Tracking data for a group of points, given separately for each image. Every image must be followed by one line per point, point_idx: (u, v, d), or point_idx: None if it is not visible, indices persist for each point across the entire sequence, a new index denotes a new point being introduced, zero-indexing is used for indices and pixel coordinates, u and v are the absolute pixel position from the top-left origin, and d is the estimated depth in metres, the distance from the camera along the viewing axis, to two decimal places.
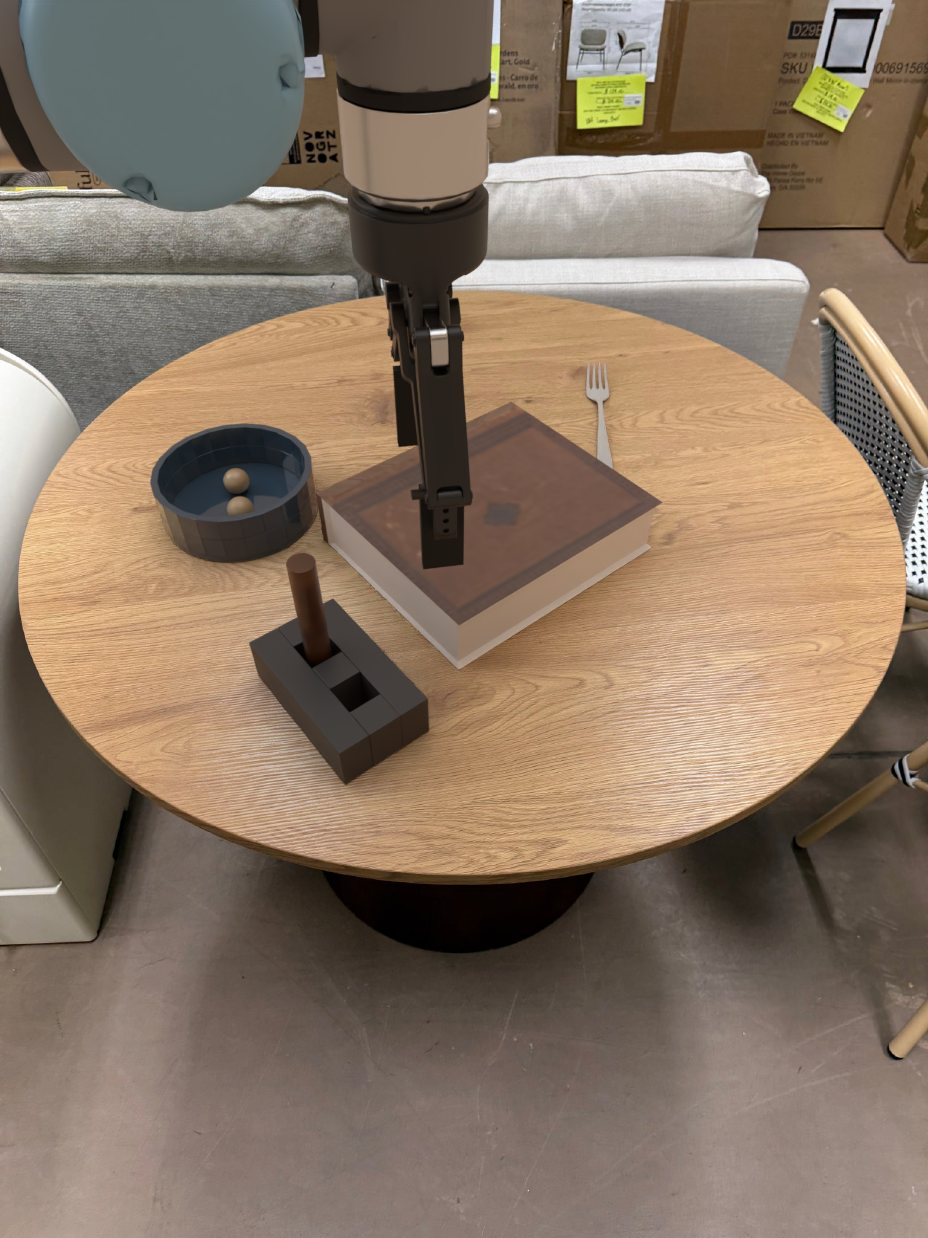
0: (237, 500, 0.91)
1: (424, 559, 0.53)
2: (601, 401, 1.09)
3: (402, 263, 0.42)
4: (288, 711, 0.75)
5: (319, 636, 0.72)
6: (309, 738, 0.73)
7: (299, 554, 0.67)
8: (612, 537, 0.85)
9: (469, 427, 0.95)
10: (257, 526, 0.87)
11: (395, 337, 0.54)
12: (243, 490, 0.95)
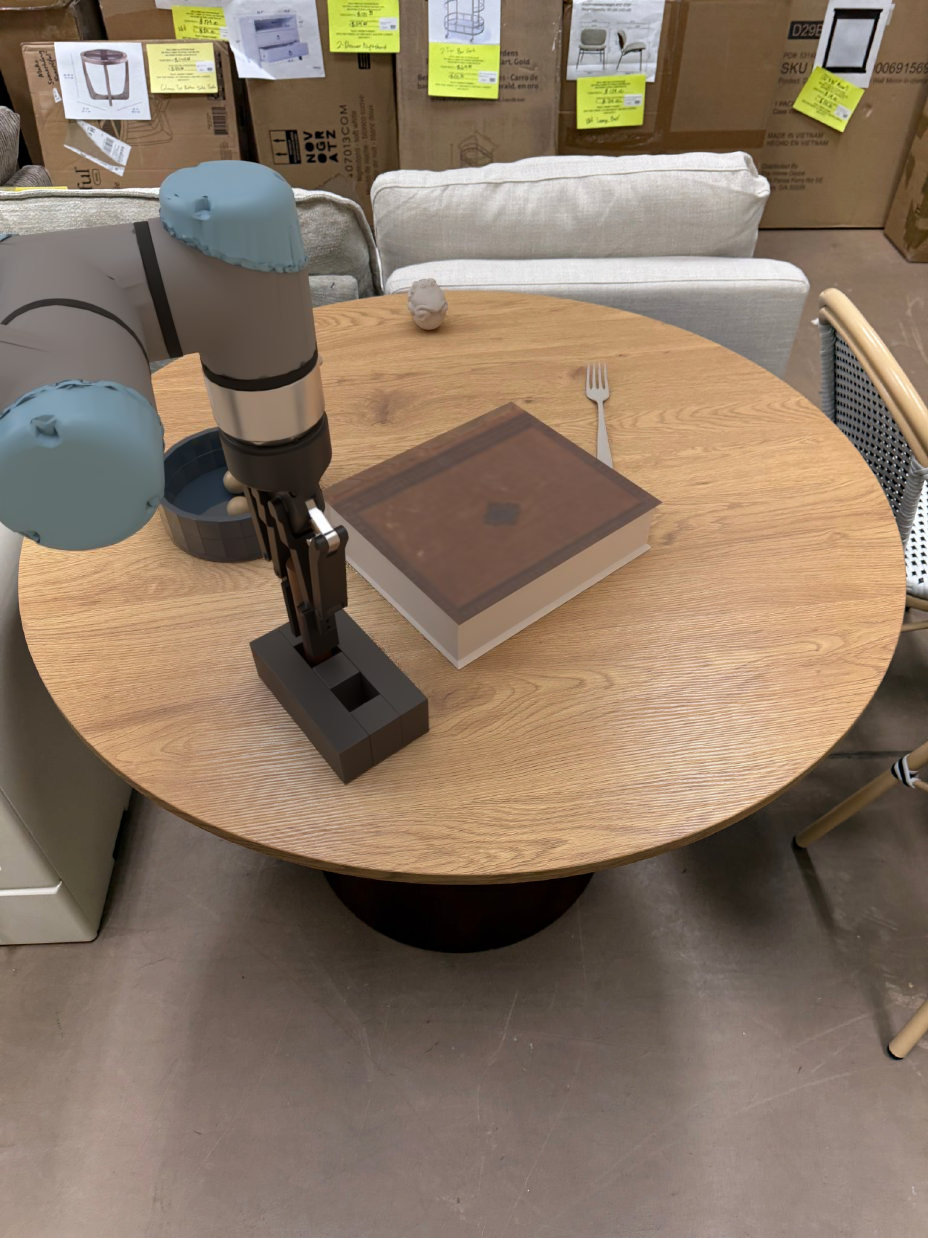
0: (237, 500, 0.91)
1: (313, 651, 0.71)
2: (601, 401, 1.09)
3: (286, 478, 0.56)
4: (288, 711, 0.75)
5: None
6: (309, 738, 0.73)
7: None
8: (612, 537, 0.85)
9: (469, 427, 0.95)
10: None
11: (274, 546, 0.66)
12: (243, 490, 0.95)
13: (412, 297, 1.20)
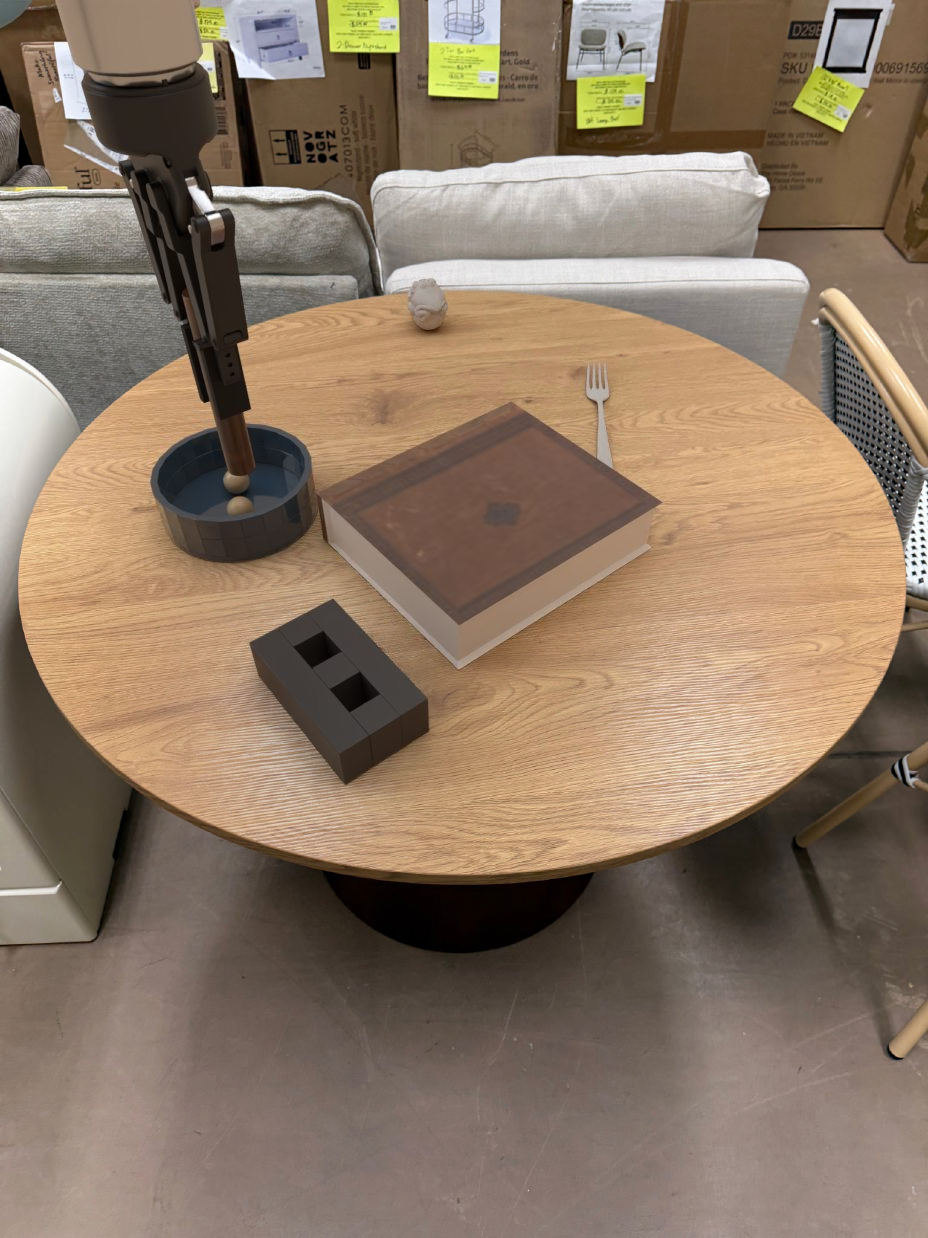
0: (237, 500, 0.91)
1: (219, 410, 0.64)
2: (601, 401, 1.09)
3: (156, 135, 0.49)
4: (288, 711, 0.75)
5: None
6: (309, 738, 0.73)
7: None
8: (612, 537, 0.85)
9: (469, 427, 0.95)
10: (257, 526, 0.87)
11: (168, 270, 0.59)
12: (243, 490, 0.95)
13: (412, 297, 1.20)
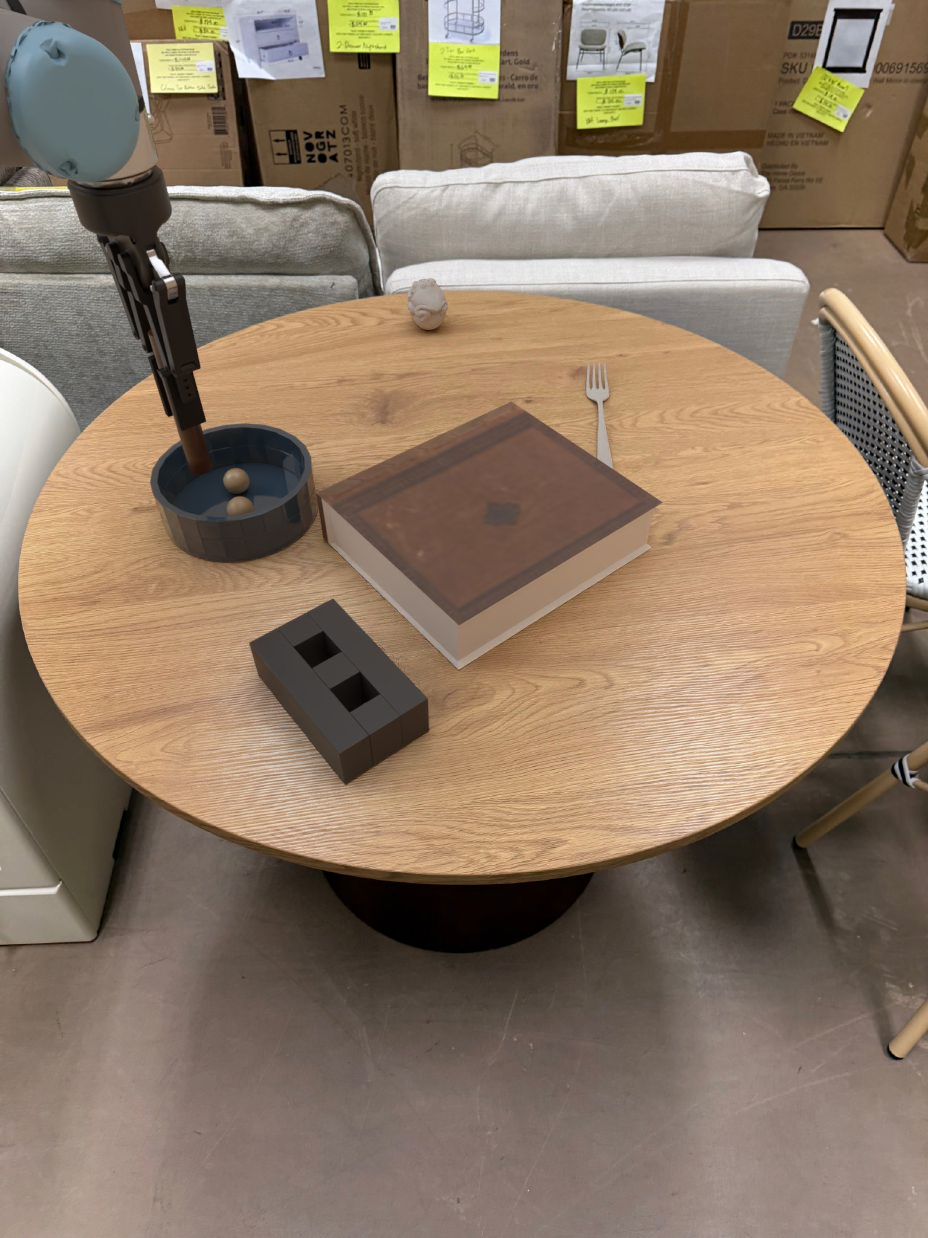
0: (237, 500, 0.91)
1: (180, 423, 0.81)
2: (601, 401, 1.09)
3: (124, 221, 0.65)
4: (288, 711, 0.75)
5: None
6: (309, 738, 0.73)
7: None
8: (612, 537, 0.85)
9: (469, 427, 0.95)
10: (257, 526, 0.87)
11: (136, 315, 0.76)
12: (243, 490, 0.95)
13: (412, 297, 1.20)
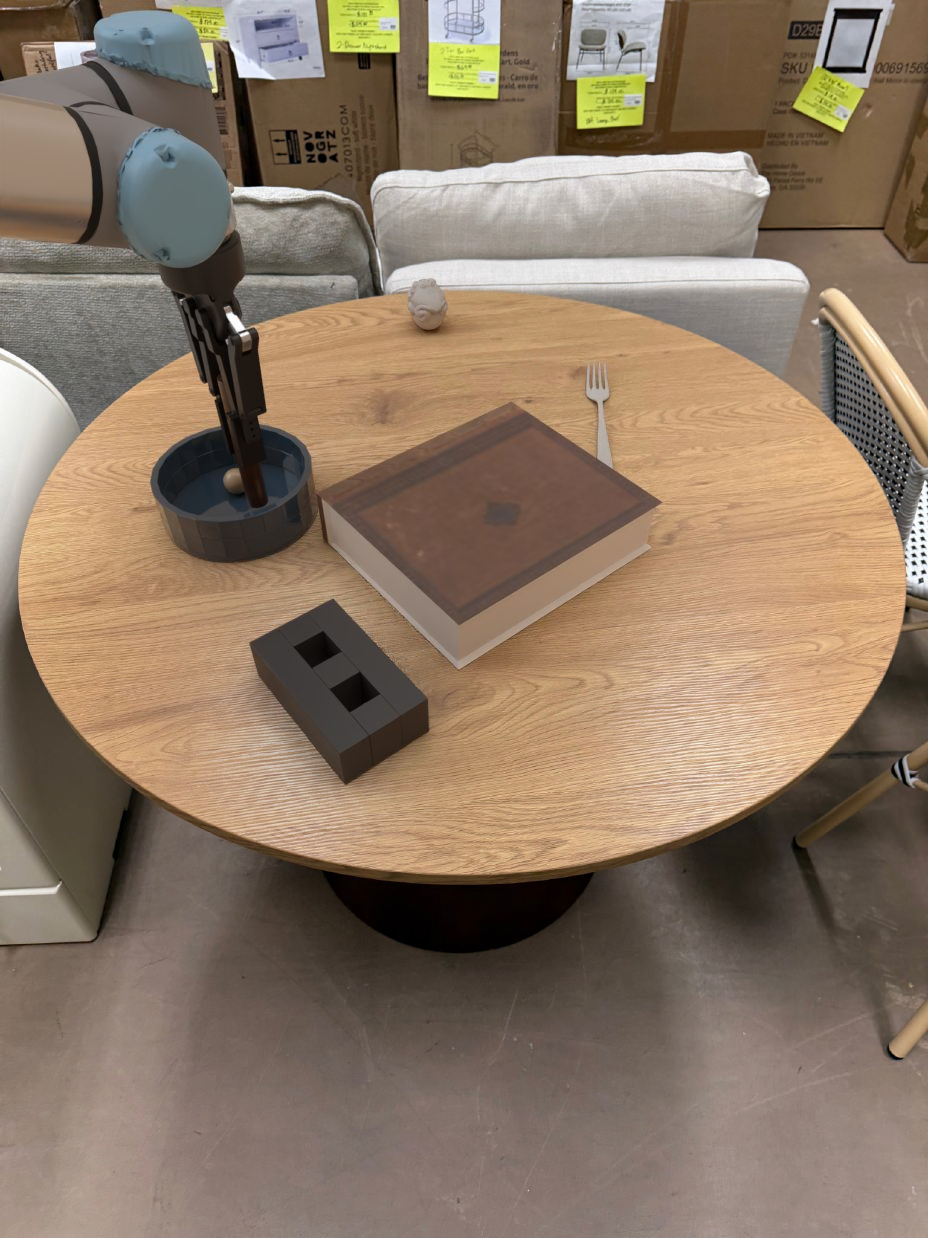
0: None
1: (243, 461, 0.86)
2: (601, 401, 1.09)
3: (205, 282, 0.70)
4: (288, 711, 0.75)
5: None
6: (309, 738, 0.73)
7: None
8: (612, 537, 0.85)
9: (469, 427, 0.95)
10: (257, 526, 0.87)
11: (206, 362, 0.80)
12: (243, 490, 0.95)
13: (412, 297, 1.20)
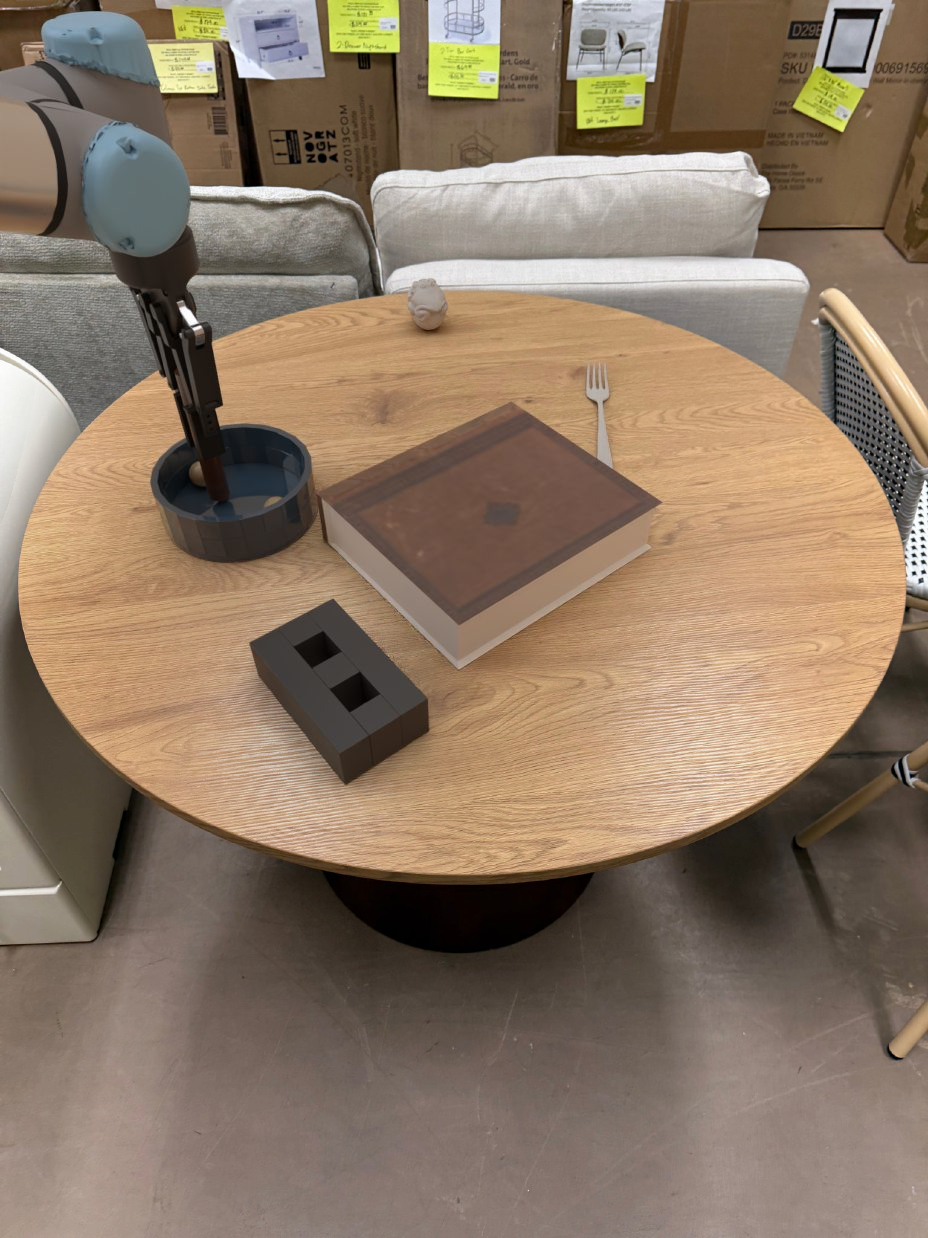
0: None
1: (202, 454, 0.87)
2: (601, 401, 1.09)
3: (157, 276, 0.72)
4: (288, 711, 0.75)
5: None
6: (309, 738, 0.73)
7: None
8: (612, 537, 0.85)
9: (469, 427, 0.95)
10: (257, 526, 0.87)
11: (164, 356, 0.82)
12: (189, 471, 0.95)
13: (412, 297, 1.20)
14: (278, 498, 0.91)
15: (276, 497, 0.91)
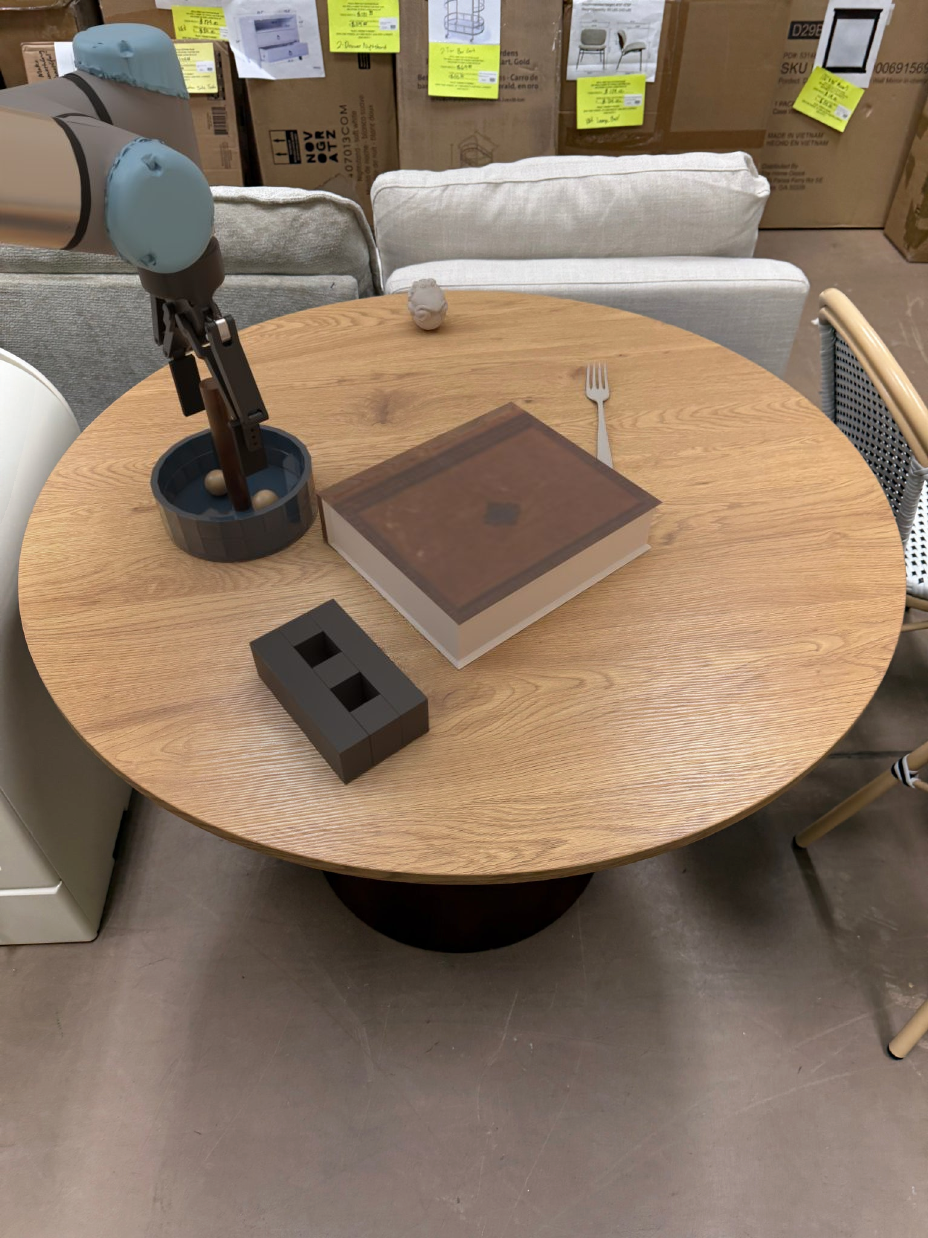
0: None
1: (244, 470, 0.83)
2: (601, 401, 1.09)
3: (184, 287, 0.72)
4: (288, 711, 0.75)
5: (232, 454, 0.88)
6: (309, 738, 0.73)
7: (210, 378, 0.83)
8: (612, 537, 0.85)
9: (469, 427, 0.95)
10: (257, 526, 0.87)
11: (169, 340, 0.83)
12: (215, 486, 0.94)
13: (412, 297, 1.20)
14: None
15: None
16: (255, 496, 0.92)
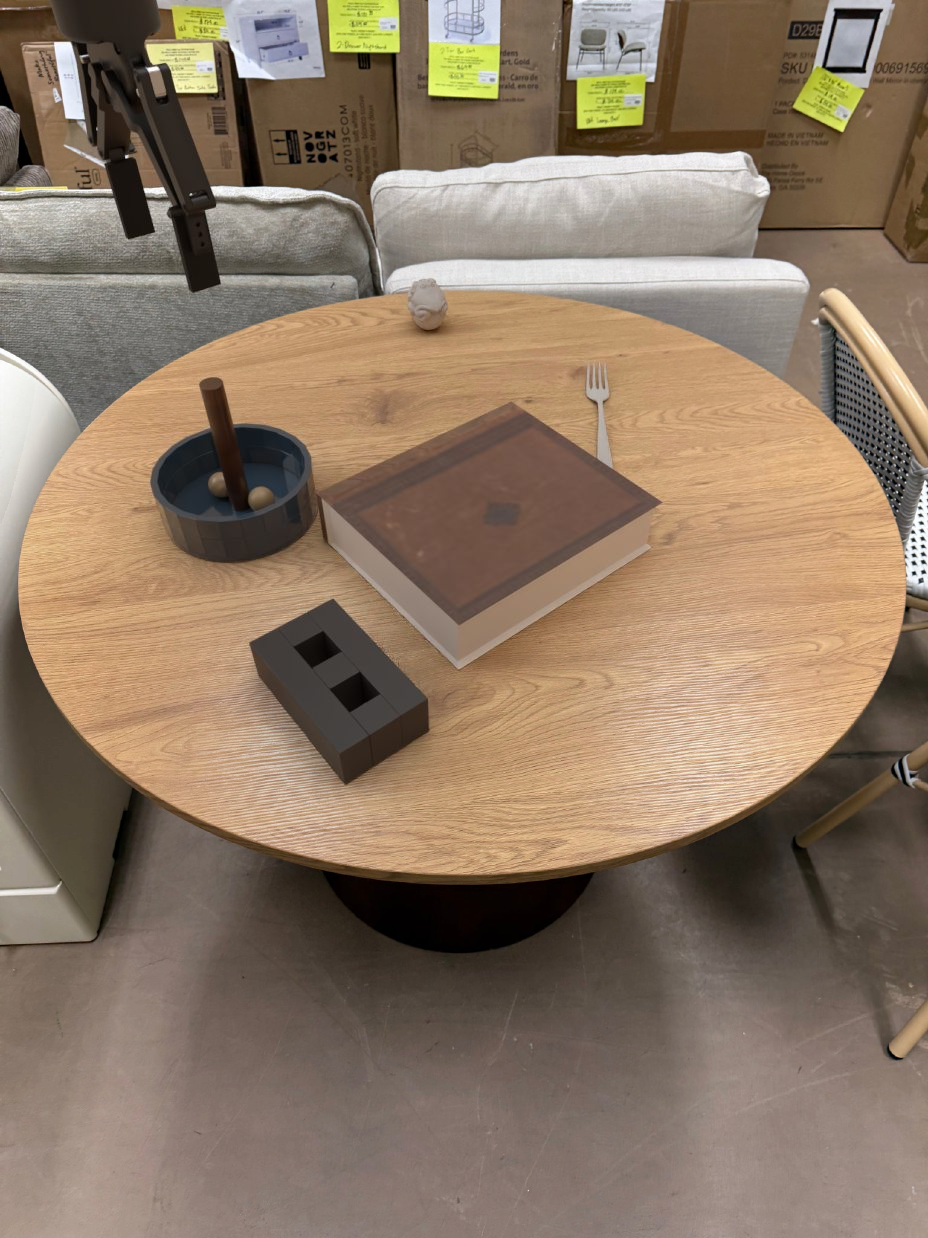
0: (263, 496, 0.92)
1: (191, 282, 0.70)
2: (601, 401, 1.09)
3: (107, 23, 0.59)
4: (288, 711, 0.75)
5: (232, 454, 0.88)
6: (309, 738, 0.73)
7: (210, 378, 0.83)
8: (612, 537, 0.85)
9: (469, 427, 0.95)
10: (257, 526, 0.87)
11: (102, 128, 0.70)
12: (220, 491, 0.94)
13: (412, 297, 1.20)
14: None
15: None
16: (249, 494, 0.92)
